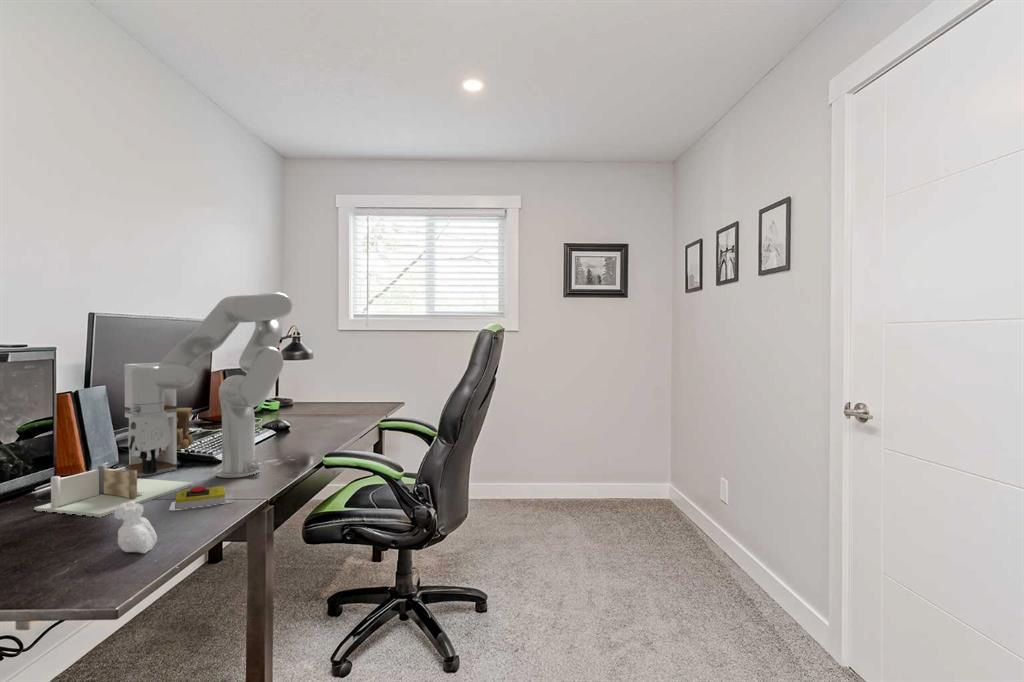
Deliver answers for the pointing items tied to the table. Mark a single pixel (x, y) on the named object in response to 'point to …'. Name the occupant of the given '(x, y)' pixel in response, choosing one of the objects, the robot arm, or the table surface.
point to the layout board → (117, 498)
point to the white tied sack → (134, 529)
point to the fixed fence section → (77, 487)
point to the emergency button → (200, 497)
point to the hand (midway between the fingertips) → (149, 473)
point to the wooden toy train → (183, 428)
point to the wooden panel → (120, 483)
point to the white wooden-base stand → (169, 454)
